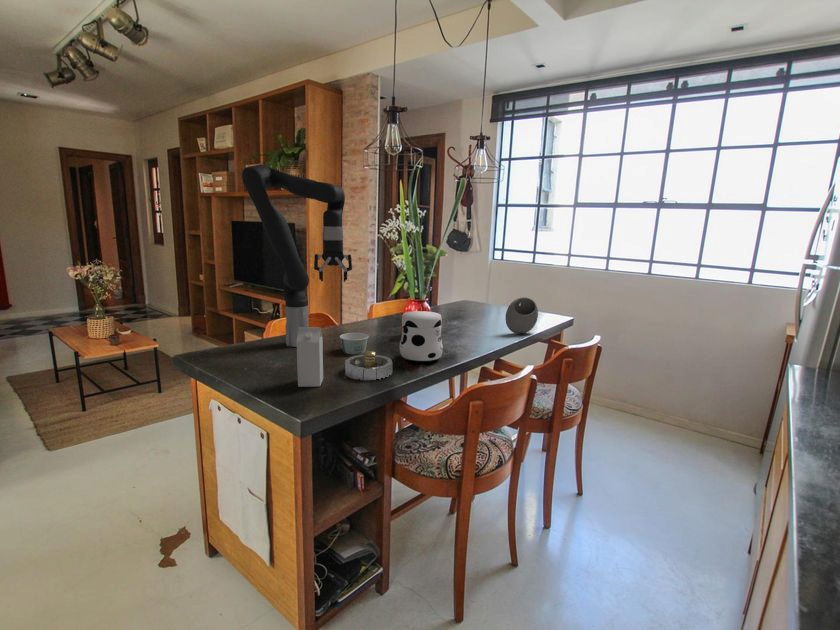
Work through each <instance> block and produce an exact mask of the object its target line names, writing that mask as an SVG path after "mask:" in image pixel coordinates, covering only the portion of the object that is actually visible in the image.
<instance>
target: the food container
mask: <svg viewBox="0 0 840 630" xmlns="http://www.w3.org/2000/svg"><path fill="white" fill-rule="evenodd" d="M369 337H370V336H369V335H368V334H366V333H362V332H348V333H343V334H341V335H339V339H340V341H341V347H342V352H343V353H344V354H346V353H347V354H348V355H362V354H364V352H365V351H367V350H366V349H367V345H368V344H367V343H368V338H369Z"/></svg>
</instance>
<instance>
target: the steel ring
mask: <svg viewBox="0 0 840 630" xmlns="http://www.w3.org/2000/svg"><path fill="white" fill-rule="evenodd" d="M344 366H345V367H344V368H345V369H344V372H345V373H344V374H345V376H346V377H348V378H351V379H352V378H353V380H358V379H360V381H377V380H376V379H379V380H382V379H381V378H383V379H386V378H385V377H387V378H388V377H390V376H391V375H393V361H392V358H390V357H388V356H385V355H378V354H376V366H377V367H372V368H363V367H364V354H357V355H354V356H353V355H352V356H351V357H349V358H347V359H345V361H344ZM361 366H362V367H361ZM389 375H390V376H389Z"/></svg>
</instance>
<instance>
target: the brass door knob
mask: <svg viewBox="0 0 840 630" xmlns="http://www.w3.org/2000/svg"><path fill="white" fill-rule="evenodd" d="M376 353H377V352H376V351H375V350H365V352H364V353H363V355H364V366H362V367H363V368H372V367H376V355H377V354H376Z"/></svg>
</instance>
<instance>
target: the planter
mask: <svg viewBox="0 0 840 630" xmlns="http://www.w3.org/2000/svg"><path fill="white" fill-rule="evenodd" d="M538 318H539V310H538V306H537V303H536V302H535V301H534V299H532V298H529V297H525V296H524V297H523V296H522V297H517V298H516V299H514V300H513V301H511V303H510V304H509V306H508V307H507V309H506V312H505V324H506V327H507V329H508V330H509V331H510V332H512V333H513V334H516V333H518V334H517V335H521V334H520V333H524V334H526V333H529V332H530V331H532V329H533V328H534V327H535V325H536V324H537V321H538Z"/></svg>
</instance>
